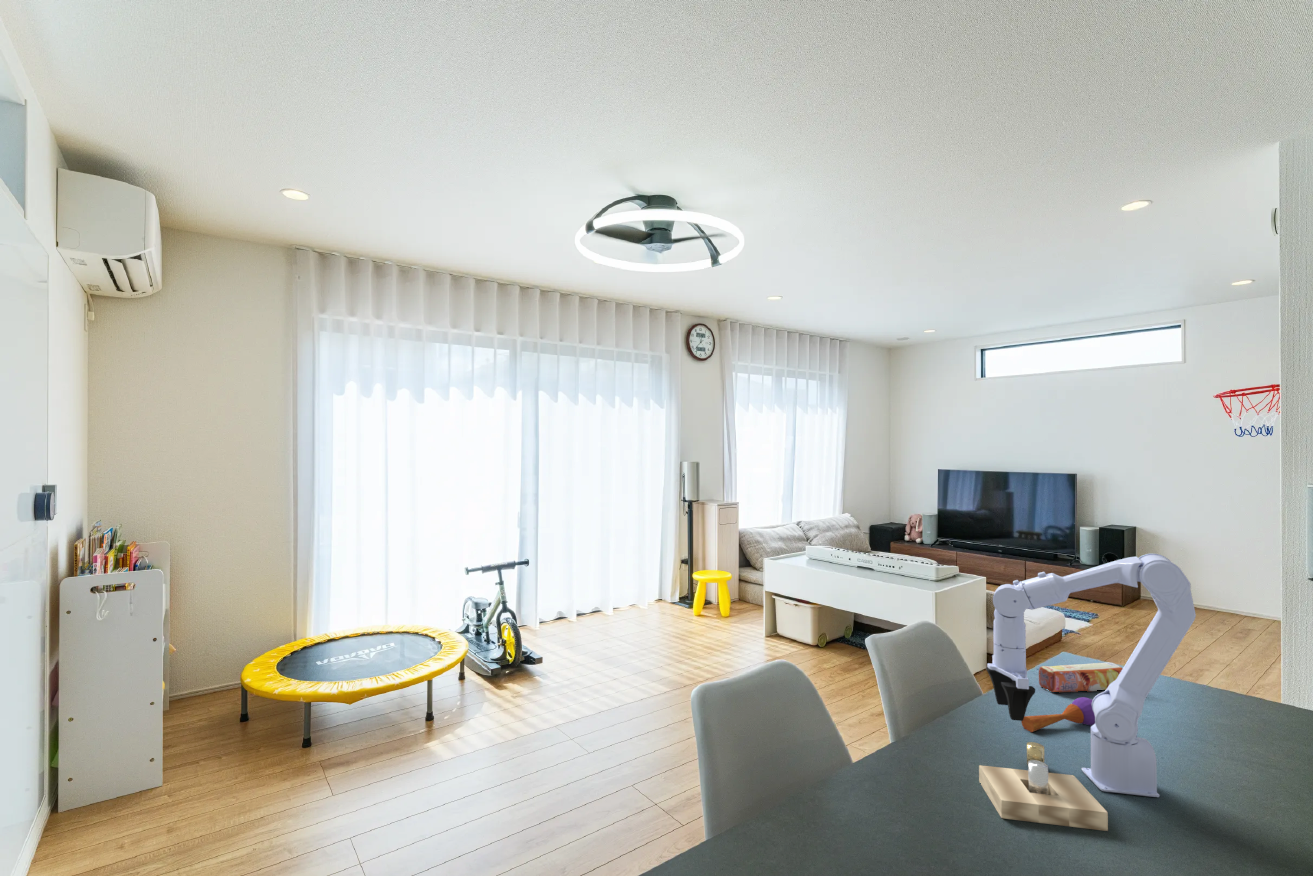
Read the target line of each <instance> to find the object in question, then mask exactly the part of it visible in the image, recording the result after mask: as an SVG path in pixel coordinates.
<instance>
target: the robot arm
mask: <svg viewBox="0 0 1313 876" xmlns="http://www.w3.org/2000/svg"><path fill="white" fill-rule="evenodd" d="M1138 582H1139V583H1141V584H1142V586H1143V587H1144V588H1145V589H1146V590H1147V591H1148V593H1150V596H1151V598H1152V599H1153V602H1154V603H1155V606H1156V608H1157V611H1156V613H1155V615H1154V617H1153V619H1152V620H1151V621H1150V623H1149V625H1148V626H1147V628H1146V630H1145V631H1144V633H1143V635H1142V636H1141V637H1140V639H1139V641H1138V643H1137V645H1136V647H1135V648H1134V649H1133V652H1131V655H1130V656H1129V658H1128V660H1127V661H1126V663H1125V665H1124V666H1123V667H1122V668H1123V669H1122V671H1121V672H1120V674H1119V676H1118V677H1117V679H1116V680H1115V681H1113V682H1112V683H1111V684H1110V685H1109V686H1108V688H1107V689H1106V690H1105V691H1101V692H1100V693H1097V695H1095V696H1093V699H1092V700H1093V701H1092V710H1093V712H1094V715H1095V724H1094V725H1090V768H1089V767H1081V771H1082V772H1083V773H1084V774H1085V776H1086V777H1087V778H1089V780H1091V782H1092V783H1094V785H1095V786H1096V787H1097V788H1098V790H1100V791H1101V792H1107V793H1116V794H1126V795H1135V796H1143V797H1151V798H1152V797H1153V798H1160V794H1159V792H1158V778H1157V777H1158V775H1157V773H1158V771H1157V769H1158V768H1157V765H1158V764H1157V762H1158V761H1157V756H1156V752H1155V750H1154V749H1155V748H1154V747H1153V745H1152V744H1151V742H1150V741H1149V740H1148V739H1147V738H1143V737H1138V735H1137V734H1138V732H1139V731H1138V730H1139V726H1138V721H1139V719H1140V717H1141V716H1142V713H1143V710H1144V704H1145V701H1146V698H1147V696H1148V695H1149V693H1150V692H1151V690H1152V689H1153V687H1154V685H1155V684H1156V683H1157V681H1158V680H1159V678H1160V676H1161V674H1162V673H1163V671H1164V670H1165V668H1166V666H1167V665H1168V664H1169V662H1170V660H1171V658H1172V656H1173V655H1174V653H1175V652H1176V651H1177V649H1178V647H1179V646H1180V644H1181V642H1182V641H1183V639H1184V638H1185V636H1186V634H1187V633H1188V631H1189V630H1190V628H1191V626H1192V625H1193V623H1194V621H1196V617H1197V615H1196V610H1195V609H1196V608H1195V605H1194V599H1193V595H1192V590H1191V589H1192V585H1191V582H1190V581H1189V579H1188V577H1187V576H1186V575H1185V573H1184V572H1183V570H1182V569H1181V568H1180V567H1179V566H1178V565H1177V564H1176V563H1174V562H1172V560H1170V559H1169V558H1168V557H1166V556H1164V555H1162V554H1159V553H1146V554H1143V555H1140V556H1139V557H1138V556H1130V557H1123V558H1122V559H1121V558H1120V559H1116V560H1114V561H1110V562H1109V561H1108V562H1107V563H1103V564H1100V565H1097V566H1094V567H1090V568H1088V569H1084V570H1081V571H1077V572H1073V573H1071V574H1068V575H1064V576H1060V575H1058V574H1056V573H1054V572H1051V573H1046V572H1045V571H1042V572H1041V571H1040V572H1037V576H1036V577H1032V578H1027V579H1025V580H1022V581H1021V580H1020V581H1019V580H1018V579H1016V580H1013V581H1012V584H1011V583H1005V584H1000V586H998V587H997V588H996V589H995V590H994V593H993V597H992V604H993V606H994V611H993V617H994V619H993V654H992V655H991V657H992V658H991V659H992V661H991V662H992V663H989V662H988V663H987V667H986V668H985V669H986V671H987V673H988V676H989V678H990V681H991V683H992V687H993V692H994V695H995V700H996V703H997V704H998V705H1001V706H1007V709H1008V714H1009V717H1010V720H1012V721H1020V722H1021V721H1023V719H1024V716H1025V715H1026V712H1027V709H1028V706H1029V703H1030V701H1031V699H1032V697H1033V696H1034V695H1035V693H1036V688H1035V687H1034V686H1031V685H1030V680H1029V678H1028V669H1027V655H1026V654H1027V653H1026V652H1027V650H1026V649H1027V646H1026V645H1027V644H1026V643H1027V642H1026V640H1027V637H1026V632H1027V630H1026V629H1027V627H1026V623H1025V611H1026V610H1032V611H1033V610H1038V609H1039V608H1040V609H1041V608H1045V607H1049V606H1053V605H1056V604H1059V603H1065V602H1066V601H1067V600H1068V598H1069V595H1070V594H1071V593H1077V592H1080V591H1085V590H1089V589H1094V588H1098V587H1103V586H1107V585H1113V584H1121V585H1125V586H1129V587H1133V588H1137V589H1138V587H1139V586H1138Z"/></svg>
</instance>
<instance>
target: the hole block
mask: <svg viewBox="0 0 1313 876" xmlns="http://www.w3.org/2000/svg"><path fill="white" fill-rule="evenodd" d="M978 782H979V784H980V783H981V784H980V785H981V787H982V788H983V790H984V791H985V794H986V795H987V796H988V798H989V800H990V801H991V803H992V805H993V806H994V808H995V810H996V811H997V813H998V815H999V816H1000V818H1001V819H1006V820H1014V821H1022V822H1029V823H1030V822H1031V823H1036V824H1037V823H1038V824H1047V825H1056V826H1061V827H1063V826H1064V827H1071V828H1072V827H1073V828H1080V829H1087V830H1096V831H1104V832H1109V824H1108V823H1109V814H1108V810H1106V809H1105V808H1104V806H1103V805H1101V804H1100V802H1099V801H1098V800H1097V799H1096V798H1095V797H1094V796H1093V795H1092V793H1090V792H1089V791H1088V789H1087V788H1086V787H1085V786H1084V785H1083V784H1082V782H1081V781H1080V780H1079V779H1078V778H1077V777H1076V776H1075V775H1073V774H1064V773H1056V772H1048V795H1046V794H1037V793H1030V792H1029V791H1028V769H1027V770H1025V769H1017V768H1010V767H1009V768H1008V767H1002V766H1001V767H999V766H990V765H978Z"/></svg>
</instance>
